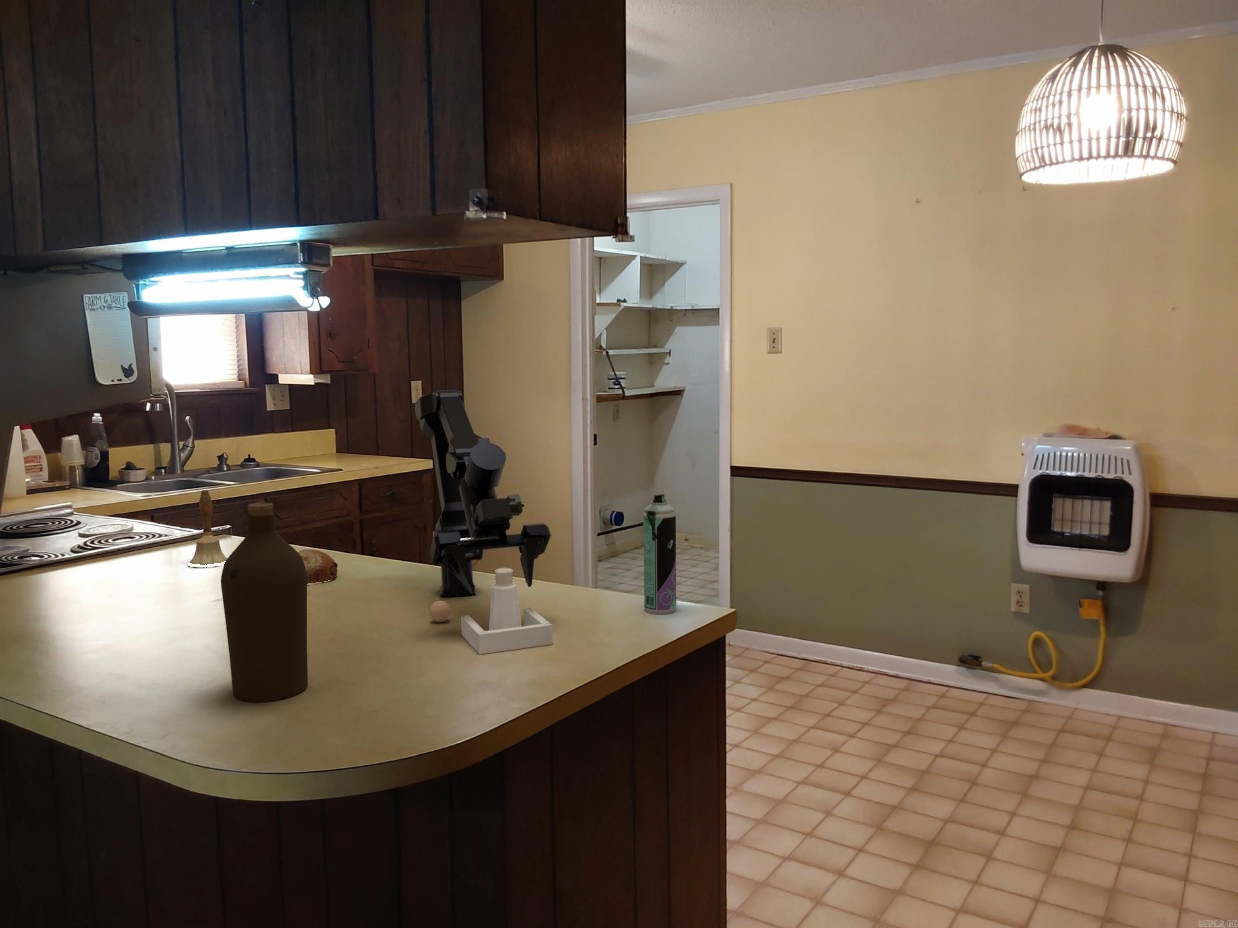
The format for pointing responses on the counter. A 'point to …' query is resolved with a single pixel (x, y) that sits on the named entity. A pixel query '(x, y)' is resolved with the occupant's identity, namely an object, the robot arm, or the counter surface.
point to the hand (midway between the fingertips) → (502, 588)
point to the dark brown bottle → (265, 612)
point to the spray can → (659, 557)
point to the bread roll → (318, 565)
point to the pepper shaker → (504, 602)
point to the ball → (440, 611)
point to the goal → (508, 634)
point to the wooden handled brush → (207, 536)
